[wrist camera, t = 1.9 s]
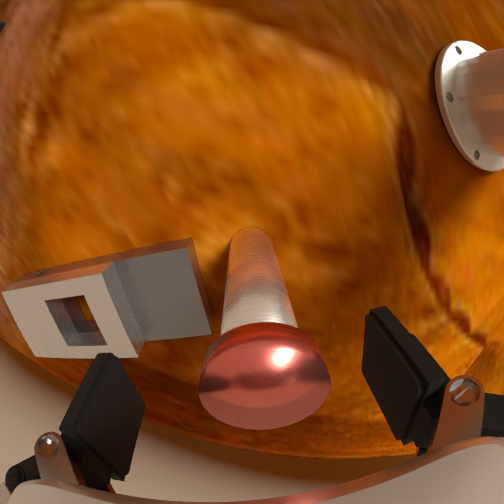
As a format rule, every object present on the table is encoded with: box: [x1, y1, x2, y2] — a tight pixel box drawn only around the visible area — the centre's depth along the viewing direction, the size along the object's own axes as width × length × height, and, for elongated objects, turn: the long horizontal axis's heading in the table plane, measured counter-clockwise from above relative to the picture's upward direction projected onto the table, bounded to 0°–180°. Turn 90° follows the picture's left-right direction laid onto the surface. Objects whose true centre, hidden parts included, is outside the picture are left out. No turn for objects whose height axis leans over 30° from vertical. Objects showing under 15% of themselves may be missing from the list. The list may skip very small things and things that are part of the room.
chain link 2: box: [39, 238, 214, 341], centre depth 20 cm, size 14×7×2 cm, turn 100°
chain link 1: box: [2, 262, 145, 358], centre depth 19 cm, size 12×7×4 cm, turn 100°
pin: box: [199, 227, 331, 430], centre depth 14 cm, size 4×4×13 cm
